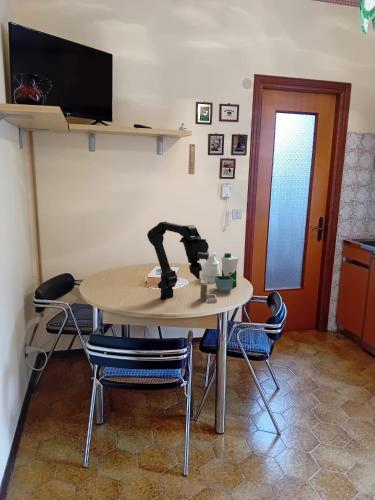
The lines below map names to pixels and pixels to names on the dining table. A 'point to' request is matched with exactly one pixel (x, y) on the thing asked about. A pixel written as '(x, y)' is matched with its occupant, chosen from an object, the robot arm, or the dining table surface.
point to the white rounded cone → (210, 269)
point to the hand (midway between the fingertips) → (197, 274)
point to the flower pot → (224, 283)
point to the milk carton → (230, 267)
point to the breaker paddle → (203, 290)
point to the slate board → (212, 297)
